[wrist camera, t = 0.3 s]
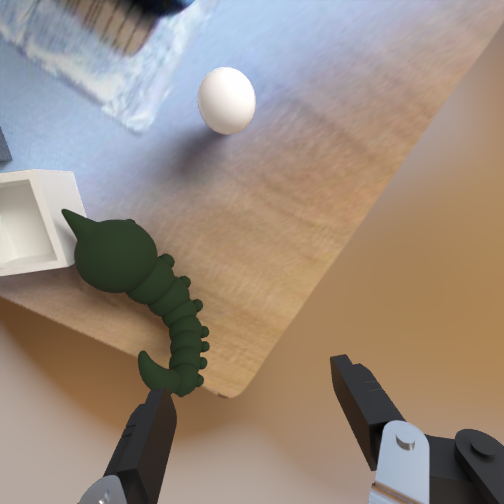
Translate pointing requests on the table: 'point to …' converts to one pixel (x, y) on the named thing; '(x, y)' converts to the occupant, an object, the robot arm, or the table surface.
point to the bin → (37, 220)
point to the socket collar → (4, 149)
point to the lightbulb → (226, 100)
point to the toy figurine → (144, 293)
